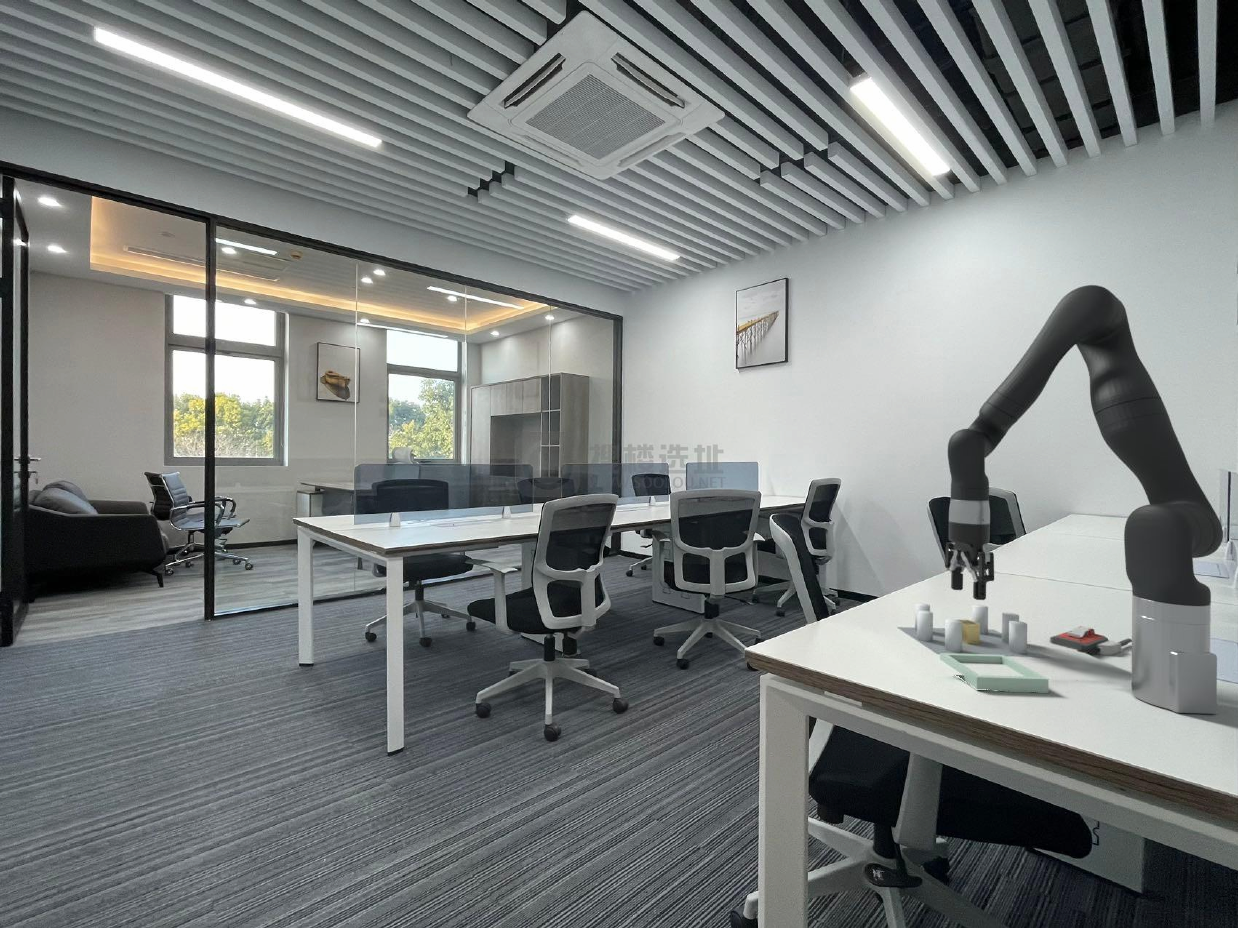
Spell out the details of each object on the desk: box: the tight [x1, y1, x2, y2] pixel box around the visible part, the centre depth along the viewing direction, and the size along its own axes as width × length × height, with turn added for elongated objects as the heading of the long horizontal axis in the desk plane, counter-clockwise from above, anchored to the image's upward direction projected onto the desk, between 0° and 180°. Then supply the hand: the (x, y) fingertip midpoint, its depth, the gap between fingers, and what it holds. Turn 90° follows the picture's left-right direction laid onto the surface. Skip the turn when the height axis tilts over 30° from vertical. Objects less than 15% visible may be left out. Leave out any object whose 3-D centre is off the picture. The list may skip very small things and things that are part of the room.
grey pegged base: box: [896, 602, 1050, 658], centre depth 117 cm, size 18×22×7 cm
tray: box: [939, 653, 1050, 694], centre depth 100 cm, size 12×12×2 cm
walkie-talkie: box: [1049, 625, 1132, 656], centre depth 117 cm, size 9×4×20 cm
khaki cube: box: [958, 619, 980, 644], centre depth 117 cm, size 4×5×4 cm
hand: (967, 594), depth 118 cm, fingers open, 8 cm apart
